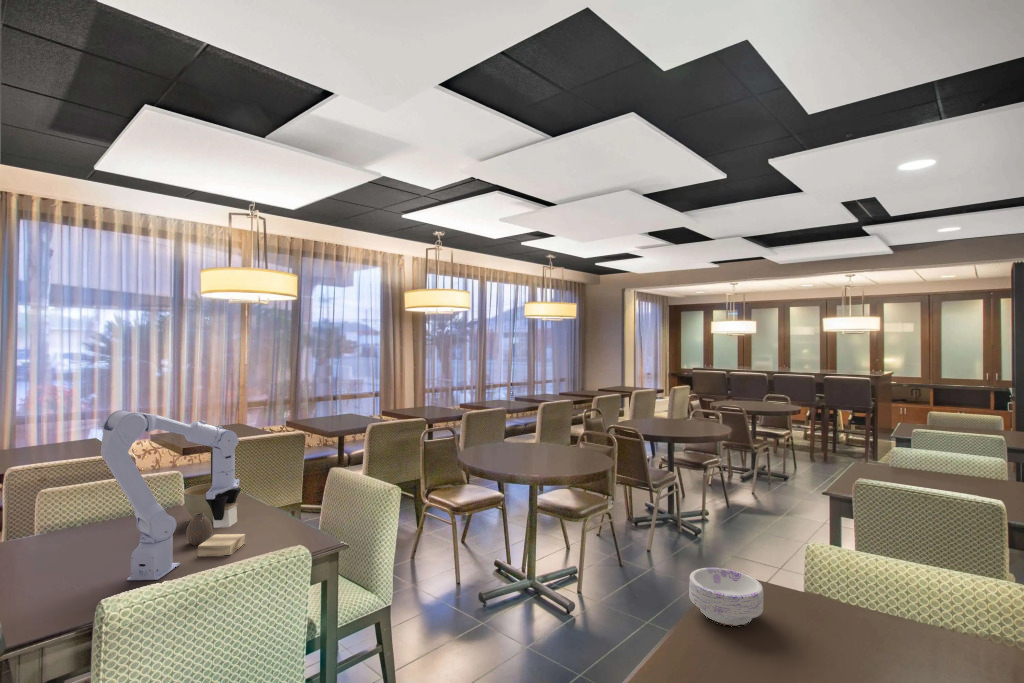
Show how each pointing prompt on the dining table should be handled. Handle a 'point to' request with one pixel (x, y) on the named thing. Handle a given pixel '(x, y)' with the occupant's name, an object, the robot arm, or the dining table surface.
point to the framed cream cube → (227, 516)
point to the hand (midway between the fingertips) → (223, 516)
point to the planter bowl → (198, 500)
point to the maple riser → (221, 544)
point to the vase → (199, 529)
